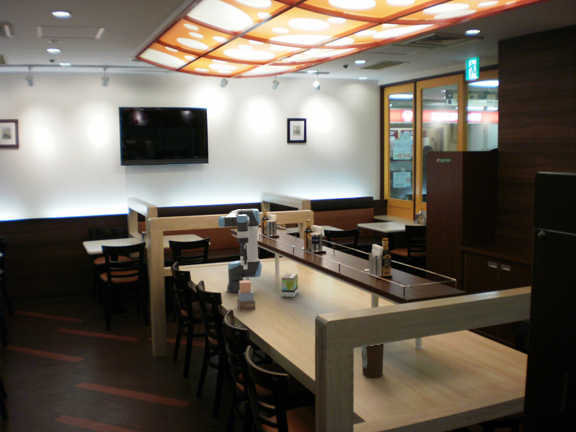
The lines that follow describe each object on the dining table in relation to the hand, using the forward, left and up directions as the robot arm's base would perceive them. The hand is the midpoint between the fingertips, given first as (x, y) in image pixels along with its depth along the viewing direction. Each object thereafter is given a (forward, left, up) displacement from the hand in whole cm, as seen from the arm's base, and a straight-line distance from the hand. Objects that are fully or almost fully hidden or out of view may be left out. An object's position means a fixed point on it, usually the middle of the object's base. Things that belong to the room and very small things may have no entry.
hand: (244, 267), depth 360 cm
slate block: (+1, 0, -23) cm, 23 cm away
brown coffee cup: (+131, +42, -29) cm, 140 cm away
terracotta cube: (+1, 0, -17) cm, 17 cm away
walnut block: (+1, 0, -29) cm, 29 cm away
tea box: (-24, +38, -29) cm, 54 cm away
